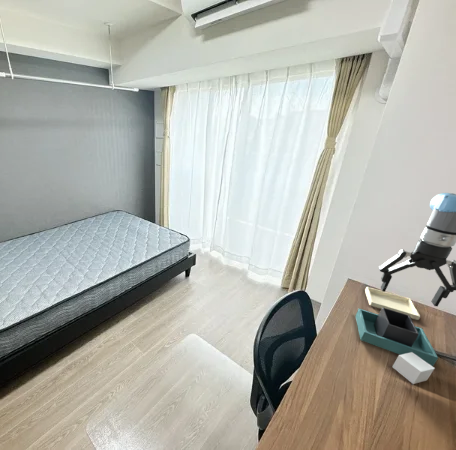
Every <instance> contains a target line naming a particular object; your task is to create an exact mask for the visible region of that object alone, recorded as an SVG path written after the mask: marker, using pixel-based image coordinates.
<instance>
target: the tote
mask: <svg viewBox="0 0 456 450" xmlns="http://www.w3.org/2000/svg"><path fill="white" fill-rule="evenodd" d="M378 315H379V313H375V312H373V311H369V310H365V309H363V308H358V309H357V311H356V313H355V321H356V325H357V330H358V335H359V338H360V341H362V342H364V343H367V344H370V345H372V346H375V347H378V348H381V349H384V350H386V351H389V352H391V353H394V354H398V355H402V354H406V353H410V352H413V353H414V354H415V355H417V356H418V357H420V358H421V359H422V360H424V361H425V362H427V363H428V364H430V365H431V366H432V367H434V366H435V364H436V362H437V361H438V360H439V357H438V355H437V353H436V351H435V349H434V348H433V346H432V343H431V342H430V340H429V338H428V336H427V334H426V333H425V331H424V329H423V327H419V326H416V325H414V326H415V328H416V330H417V331H418V333H419V335H418V337H417V338H416V340H415V342H414V344H413V345H412V347H409V346H406V345H404V344H401V343H398V342H395V341H392V340H389V339H386V338H384V337H381V336H378V335H377V334H376V331H375V327H374V323H375V321H376V319H377V317H378Z"/></svg>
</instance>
